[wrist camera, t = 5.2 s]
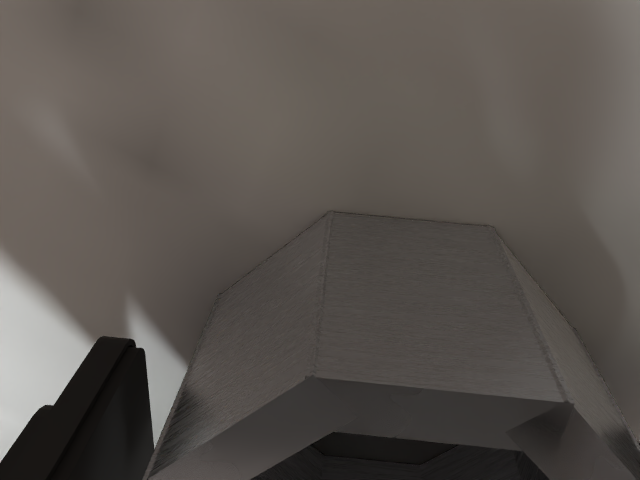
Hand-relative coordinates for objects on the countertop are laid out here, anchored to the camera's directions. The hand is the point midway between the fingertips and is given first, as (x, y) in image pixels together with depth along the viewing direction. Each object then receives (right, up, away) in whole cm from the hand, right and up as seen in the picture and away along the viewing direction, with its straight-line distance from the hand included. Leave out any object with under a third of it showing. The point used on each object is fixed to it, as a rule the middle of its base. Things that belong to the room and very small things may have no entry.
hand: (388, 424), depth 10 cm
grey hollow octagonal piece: (0, +1, +1) cm, 2 cm away
